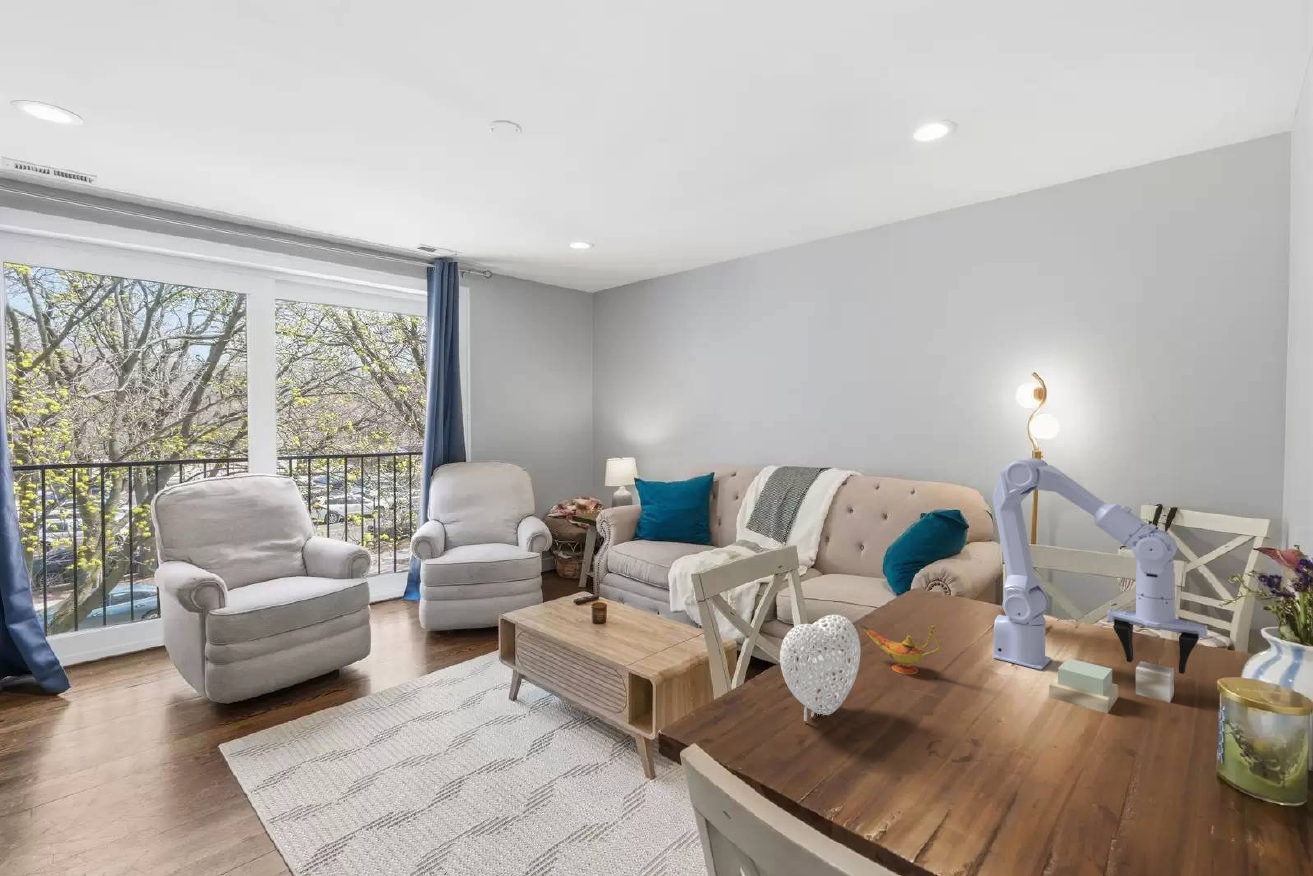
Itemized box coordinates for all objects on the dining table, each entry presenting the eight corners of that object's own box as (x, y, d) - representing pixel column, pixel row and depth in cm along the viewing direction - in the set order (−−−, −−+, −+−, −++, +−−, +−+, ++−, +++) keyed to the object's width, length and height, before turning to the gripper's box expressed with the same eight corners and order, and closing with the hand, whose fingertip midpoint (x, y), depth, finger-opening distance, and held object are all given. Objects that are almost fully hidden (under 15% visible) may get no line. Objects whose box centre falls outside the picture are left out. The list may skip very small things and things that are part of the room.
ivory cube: (1135, 694, 114) (1135, 668, 114) (1140, 686, 118) (1140, 661, 118) (1169, 703, 111) (1170, 676, 111) (1173, 694, 114) (1173, 668, 114)
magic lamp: (866, 651, 138) (866, 603, 137) (947, 675, 124) (947, 622, 124) (850, 659, 133) (850, 610, 133) (932, 685, 119) (932, 630, 119)
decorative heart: (827, 690, 118) (826, 604, 117) (876, 710, 109) (875, 617, 109) (765, 718, 107) (764, 623, 106) (814, 743, 98) (813, 640, 98)
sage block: (1057, 683, 114) (1058, 668, 114) (1068, 673, 118) (1068, 658, 118) (1102, 696, 108) (1103, 679, 108) (1111, 684, 113) (1112, 669, 113)
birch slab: (1049, 700, 114) (1049, 684, 113) (1061, 685, 120) (1061, 671, 120) (1107, 716, 107) (1107, 700, 107) (1118, 700, 113) (1118, 684, 113)
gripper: (1103, 592, 116) (1103, 661, 117) (1204, 607, 106) (1204, 684, 106) (1111, 585, 121) (1111, 651, 121) (1208, 599, 111) (1208, 672, 111)
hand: (1155, 666), depth 114 cm, fingers open, 7 cm apart
